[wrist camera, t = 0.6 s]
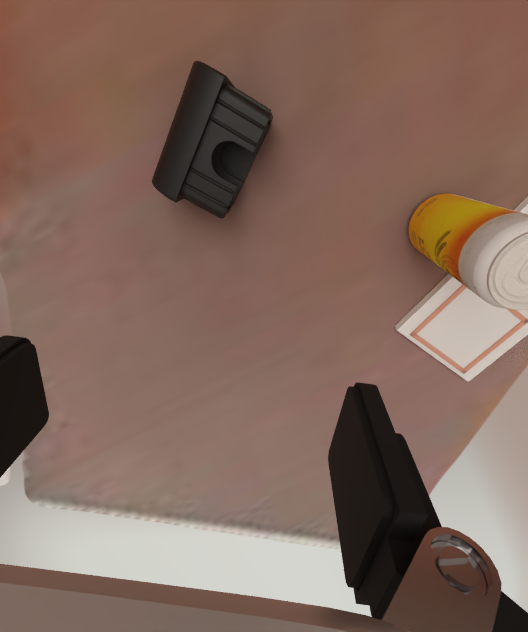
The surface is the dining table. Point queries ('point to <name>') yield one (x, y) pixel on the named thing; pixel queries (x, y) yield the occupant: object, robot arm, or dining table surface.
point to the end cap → (211, 142)
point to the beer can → (476, 246)
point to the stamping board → (463, 326)
